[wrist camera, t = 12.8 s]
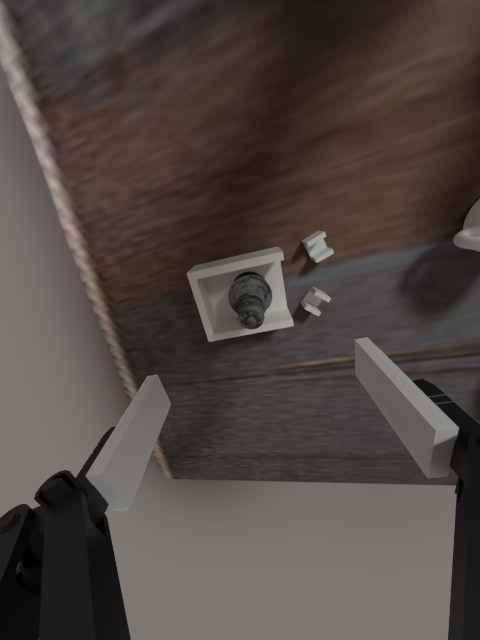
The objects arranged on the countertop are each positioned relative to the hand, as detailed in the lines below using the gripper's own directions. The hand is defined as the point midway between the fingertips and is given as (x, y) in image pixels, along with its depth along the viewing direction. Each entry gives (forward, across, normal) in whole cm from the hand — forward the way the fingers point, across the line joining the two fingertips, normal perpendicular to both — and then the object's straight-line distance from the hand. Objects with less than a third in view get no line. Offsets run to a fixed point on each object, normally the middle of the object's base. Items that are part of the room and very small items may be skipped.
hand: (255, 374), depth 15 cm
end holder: (+21, -1, 0) cm, 21 cm away
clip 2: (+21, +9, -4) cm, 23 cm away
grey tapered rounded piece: (+20, 0, 0) cm, 20 cm away
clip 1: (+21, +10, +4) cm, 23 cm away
